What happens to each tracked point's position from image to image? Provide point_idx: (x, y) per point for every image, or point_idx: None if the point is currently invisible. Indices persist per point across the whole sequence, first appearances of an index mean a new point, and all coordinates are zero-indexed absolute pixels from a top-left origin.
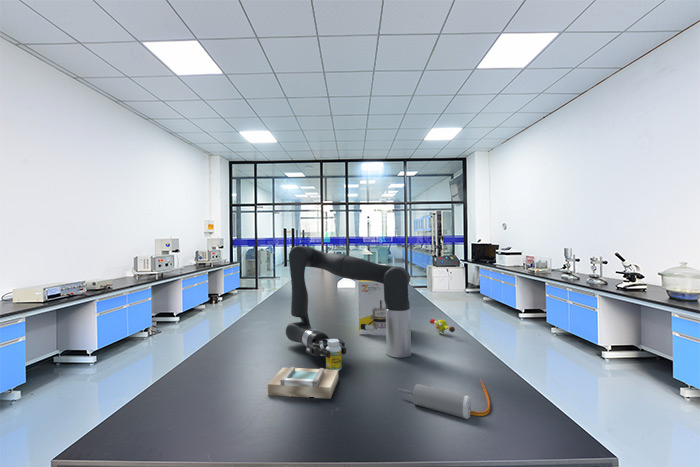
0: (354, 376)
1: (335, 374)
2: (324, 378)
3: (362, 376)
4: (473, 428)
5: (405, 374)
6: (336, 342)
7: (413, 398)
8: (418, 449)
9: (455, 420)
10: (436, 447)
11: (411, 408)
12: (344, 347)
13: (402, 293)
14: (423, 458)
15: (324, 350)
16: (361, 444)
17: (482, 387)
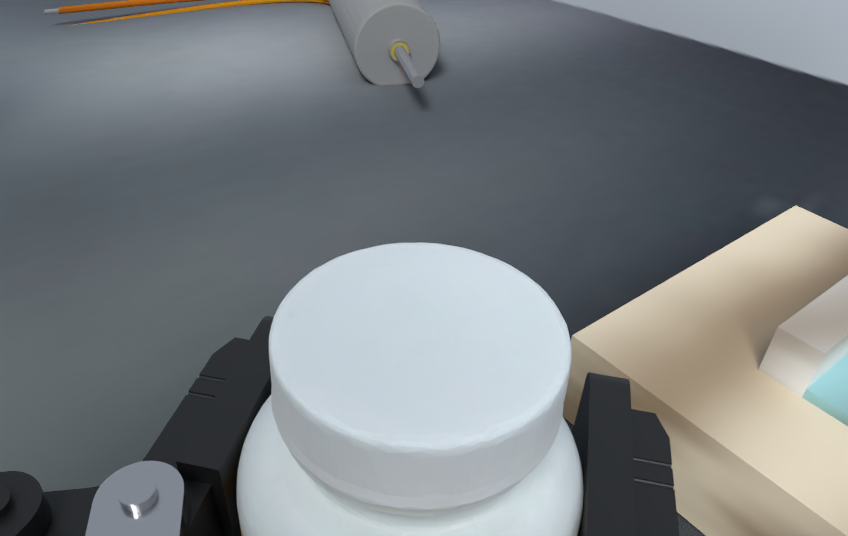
0: None
1: (656, 294)
2: (794, 303)
3: None
4: None
5: (106, 181)
6: (440, 252)
7: (439, 46)
8: (620, 33)
9: None
10: (571, 21)
11: (457, 80)
12: (259, 332)
13: None
14: (634, 24)
15: (629, 519)
16: (769, 87)
17: (99, 21)
